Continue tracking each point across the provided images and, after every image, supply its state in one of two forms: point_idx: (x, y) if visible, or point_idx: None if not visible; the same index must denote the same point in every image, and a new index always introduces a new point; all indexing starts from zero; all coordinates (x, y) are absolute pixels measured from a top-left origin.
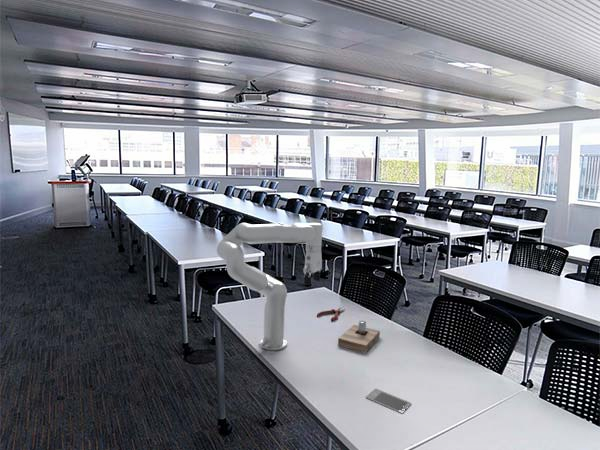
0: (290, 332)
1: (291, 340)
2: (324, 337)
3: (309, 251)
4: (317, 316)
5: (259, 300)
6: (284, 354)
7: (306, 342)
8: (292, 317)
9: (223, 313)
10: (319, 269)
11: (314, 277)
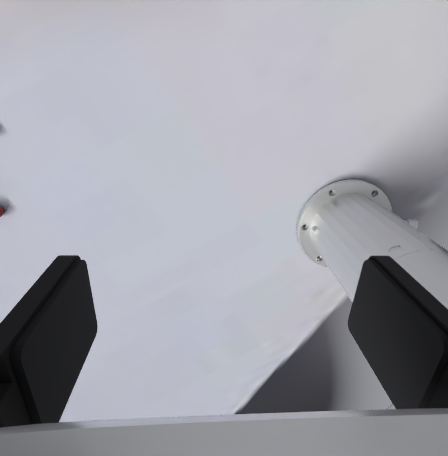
0: (219, 226)
1: (281, 189)
2: (181, 80)
3: None
4: (3, 211)
5: None
6: (399, 154)
7: (269, 130)
8: None
9: None
10: (99, 452)
11: (86, 343)
